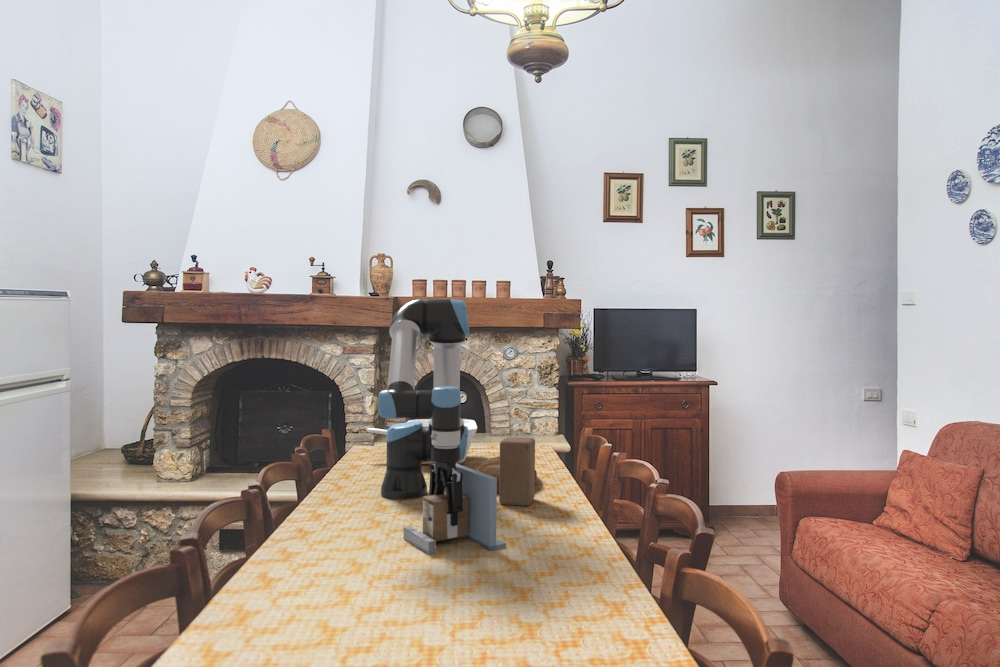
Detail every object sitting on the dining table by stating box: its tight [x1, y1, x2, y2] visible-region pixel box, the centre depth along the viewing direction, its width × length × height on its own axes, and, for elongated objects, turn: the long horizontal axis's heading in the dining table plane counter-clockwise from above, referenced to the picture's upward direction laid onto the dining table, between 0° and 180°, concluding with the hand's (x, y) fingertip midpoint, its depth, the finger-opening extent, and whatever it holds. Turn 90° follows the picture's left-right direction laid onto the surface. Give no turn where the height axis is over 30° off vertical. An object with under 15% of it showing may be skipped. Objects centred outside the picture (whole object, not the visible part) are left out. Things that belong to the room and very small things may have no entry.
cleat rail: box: [403, 525, 437, 555], centre depth 170 cm, size 14×2×3 cm, turn 34°
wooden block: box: [498, 436, 536, 507], centre depth 212 cm, size 10×10×20 cm
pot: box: [366, 418, 478, 465], centre depth 272 cm, size 29×44×15 cm, turn 96°
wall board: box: [444, 463, 507, 551], centre depth 179 cm, size 26×5×18 cm, turn 34°
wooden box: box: [422, 493, 468, 542], centre depth 174 cm, size 6×11×10 cm, turn 124°
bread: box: [476, 455, 538, 495], centre depth 238 cm, size 22×37×8 cm, turn 0°
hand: (445, 533), depth 175 cm, fingers closed on wooden box, 6 cm apart
